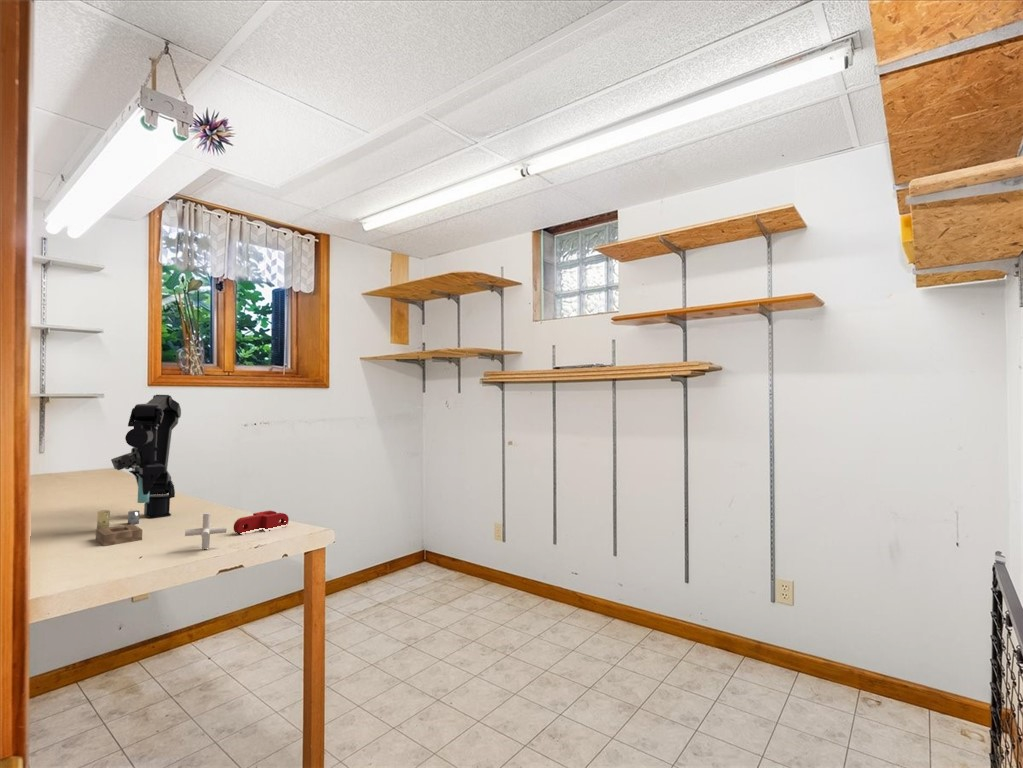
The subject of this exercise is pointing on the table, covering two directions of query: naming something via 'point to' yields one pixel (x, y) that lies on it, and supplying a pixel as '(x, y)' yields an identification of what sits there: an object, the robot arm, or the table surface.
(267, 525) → the mechanical linkage
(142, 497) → the pin long
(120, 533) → the hole block
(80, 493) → the table surface
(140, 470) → the robot arm
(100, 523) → the pin medium
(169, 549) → the table surface
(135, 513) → the pin short
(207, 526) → the pipe connector
